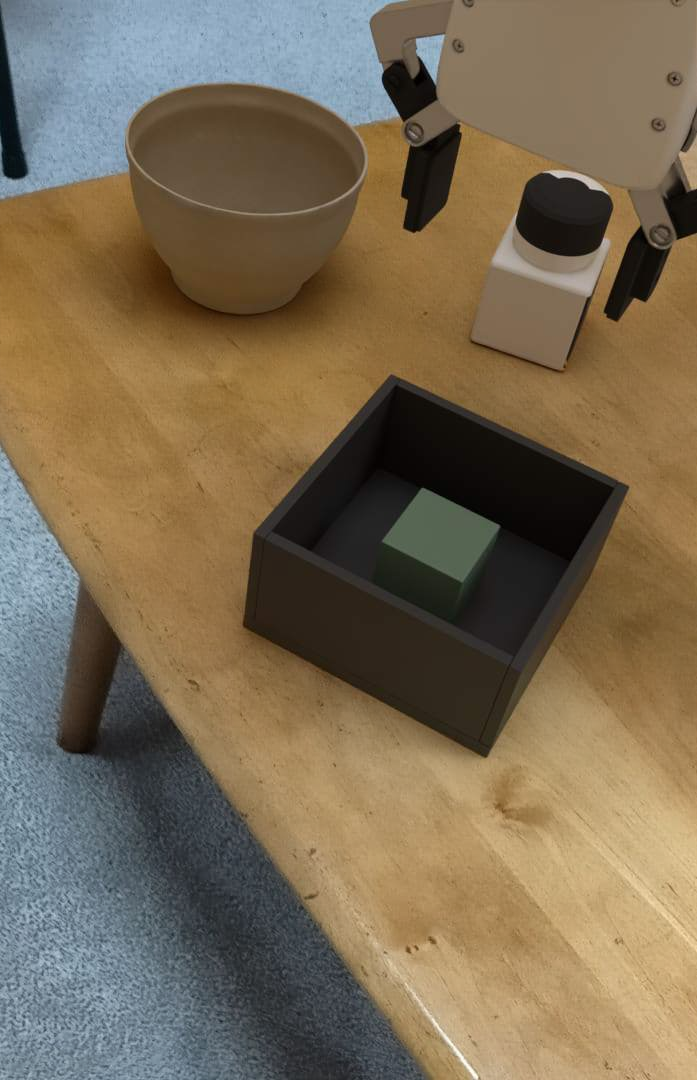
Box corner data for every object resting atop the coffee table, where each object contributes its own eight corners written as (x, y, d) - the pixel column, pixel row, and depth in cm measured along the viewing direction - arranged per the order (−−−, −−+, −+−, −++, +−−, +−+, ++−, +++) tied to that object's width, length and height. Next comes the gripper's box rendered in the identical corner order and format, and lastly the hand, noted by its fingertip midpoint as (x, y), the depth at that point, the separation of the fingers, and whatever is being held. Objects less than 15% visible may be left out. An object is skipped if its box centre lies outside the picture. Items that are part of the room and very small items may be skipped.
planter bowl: (364, 348, 87) (388, 217, 79) (130, 348, 84) (130, 211, 75) (331, 212, 97) (349, 84, 89) (121, 208, 94) (120, 74, 86)
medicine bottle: (563, 374, 88) (612, 232, 79) (468, 342, 89) (506, 198, 80) (585, 318, 92) (634, 178, 83) (494, 287, 93) (533, 146, 84)
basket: (590, 575, 76) (630, 485, 70) (486, 758, 66) (521, 672, 60) (371, 467, 79) (391, 373, 73) (242, 626, 70) (252, 532, 64)
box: (482, 581, 73) (501, 525, 69) (445, 638, 70) (462, 582, 66) (407, 543, 74) (422, 486, 70) (368, 597, 71) (381, 541, 67)
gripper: (912, -108, 42) (730, 296, 55) (459, -256, 46) (388, 151, 59) (862, -35, 37) (675, 387, 50) (363, -208, 41) (309, 224, 54)
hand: (520, 259), depth 54 cm, fingers open, 9 cm apart
